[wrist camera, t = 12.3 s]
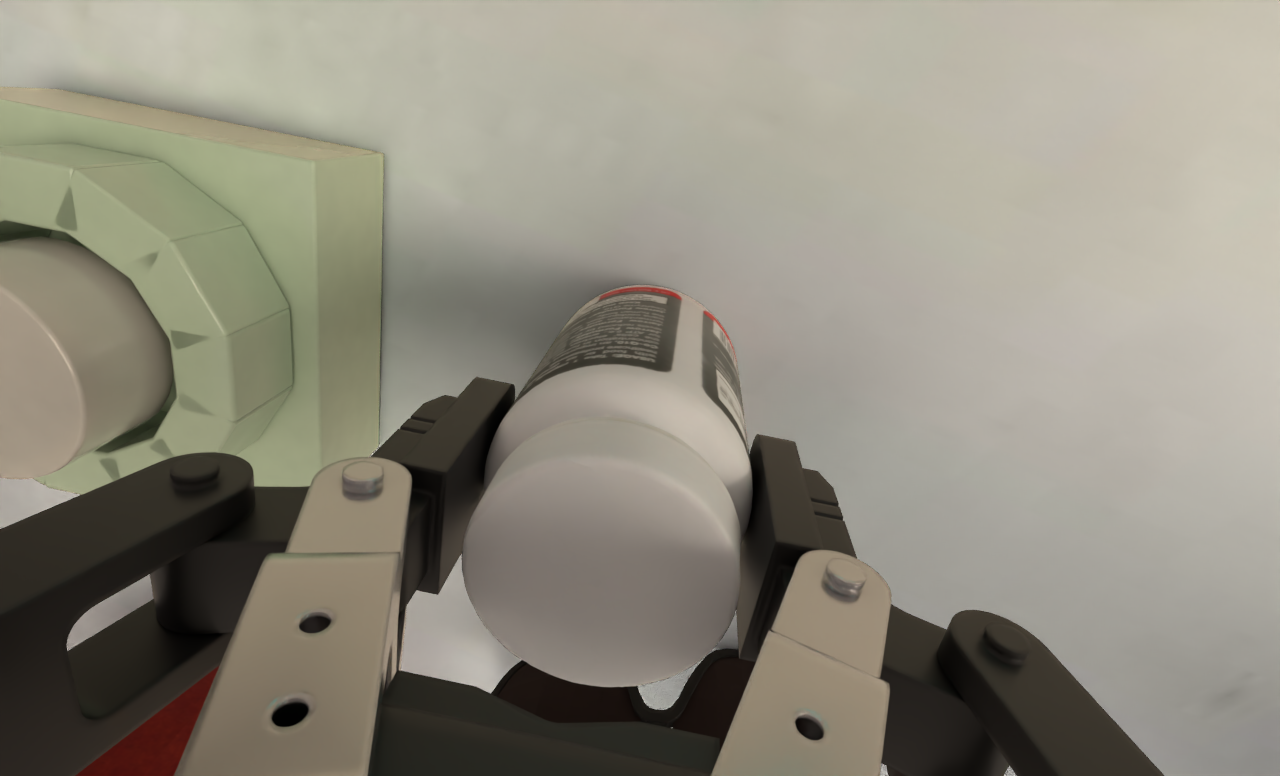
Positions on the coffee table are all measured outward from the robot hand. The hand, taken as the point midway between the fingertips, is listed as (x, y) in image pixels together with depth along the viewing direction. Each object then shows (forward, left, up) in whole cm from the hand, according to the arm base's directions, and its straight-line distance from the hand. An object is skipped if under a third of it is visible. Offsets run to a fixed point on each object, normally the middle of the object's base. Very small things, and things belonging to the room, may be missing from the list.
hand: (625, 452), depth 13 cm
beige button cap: (+11, 0, 0) cm, 11 cm away
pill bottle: (0, 0, -5) cm, 5 cm away
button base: (+11, 0, -4) cm, 12 cm away
